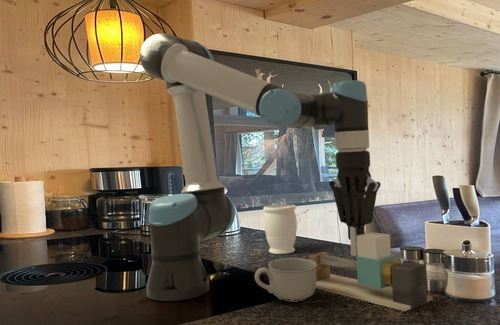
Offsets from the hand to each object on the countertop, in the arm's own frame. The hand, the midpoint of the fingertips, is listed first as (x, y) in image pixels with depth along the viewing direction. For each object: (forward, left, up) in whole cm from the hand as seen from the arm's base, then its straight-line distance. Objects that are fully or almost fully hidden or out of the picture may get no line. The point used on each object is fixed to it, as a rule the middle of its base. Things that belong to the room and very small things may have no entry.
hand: (357, 254), depth 106 cm
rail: (0, -1, -9) cm, 9 cm away
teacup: (-14, +9, -9) cm, 19 cm away
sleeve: (0, -5, -5) cm, 8 cm away
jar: (+18, +46, -9) cm, 50 cm away
